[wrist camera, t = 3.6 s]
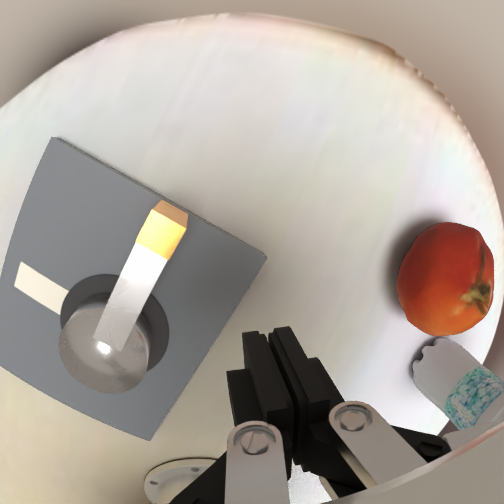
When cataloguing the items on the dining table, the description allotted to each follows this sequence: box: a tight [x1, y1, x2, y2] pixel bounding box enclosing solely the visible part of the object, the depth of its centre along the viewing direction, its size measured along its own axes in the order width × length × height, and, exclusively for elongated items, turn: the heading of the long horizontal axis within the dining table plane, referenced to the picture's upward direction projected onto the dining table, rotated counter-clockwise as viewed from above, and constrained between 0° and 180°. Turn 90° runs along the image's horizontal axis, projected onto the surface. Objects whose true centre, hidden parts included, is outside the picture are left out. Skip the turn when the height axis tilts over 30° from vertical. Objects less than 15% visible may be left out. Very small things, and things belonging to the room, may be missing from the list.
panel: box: [0, 137, 267, 441], centre depth 21 cm, size 17×20×1 cm
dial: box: [58, 200, 188, 394], centre depth 18 cm, size 13×6×5 cm, turn 148°
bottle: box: [413, 338, 504, 430], centre depth 20 cm, size 7×7×20 cm
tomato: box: [396, 222, 494, 336], centre depth 22 cm, size 9×9×8 cm
